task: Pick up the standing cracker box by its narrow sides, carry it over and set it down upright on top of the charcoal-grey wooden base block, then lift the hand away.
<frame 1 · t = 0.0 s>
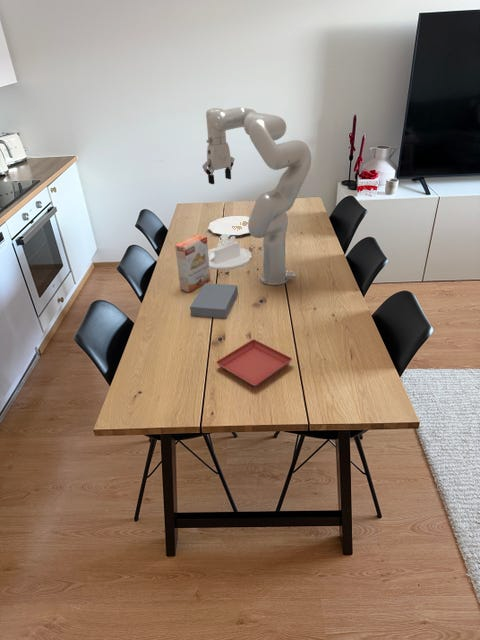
hand: (220, 181, 208), 37 cm above the table, tool pointing down, fingers open, 9 cm apart
dish: (226, 259, 228), on the table
base block: (215, 304, 190), on the table
plant saucer: (254, 368, 154), on the table
plate: (234, 229, 262), on the table
cracker box: (195, 285, 206), on the table
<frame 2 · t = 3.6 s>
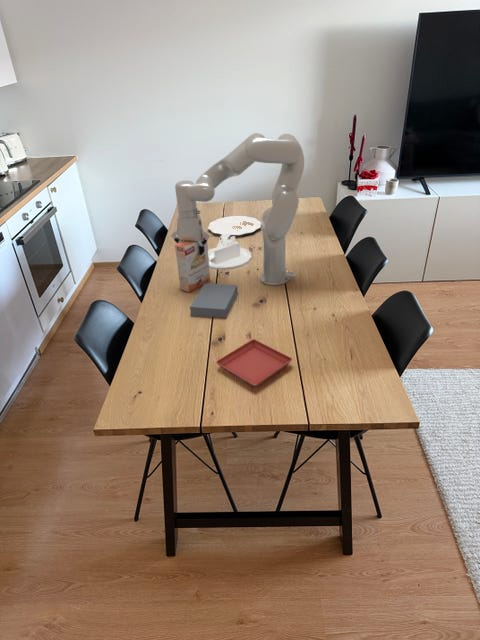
hand: (192, 253, 198), 15 cm above the table, tool pointing down, fingers closed on cracker box, 7 cm apart
cracker box: (195, 285, 206), on the table, touching gripper
everything else where it was.
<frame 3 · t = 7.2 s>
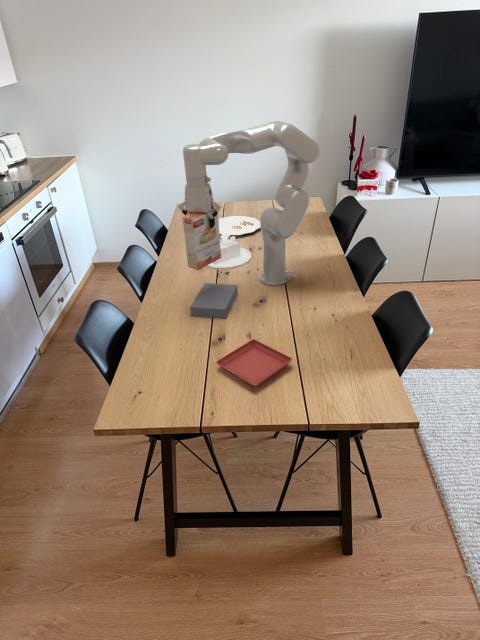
hand: (201, 226, 179), 31 cm above the table, tool pointing down, fingers closed on cracker box, 7 cm apart
cracker box: (205, 263, 188), point 15 cm above the table, touching gripper
everything else where it was.
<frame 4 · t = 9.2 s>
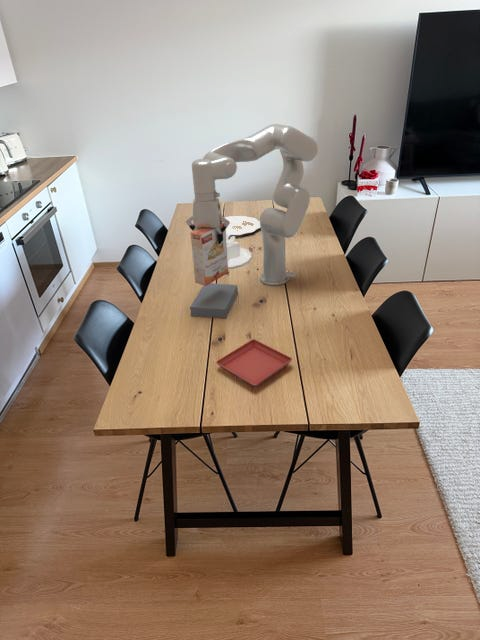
hand: (209, 242, 176), 27 cm above the table, tool pointing down, fingers closed on cracker box, 7 cm apart
cracker box: (212, 278, 184), point 12 cm above the table, touching gripper
everything else where it was.
when the fingers open (20 cm above the table, at t = 10.9 s): cracker box drops 1 cm, resting on base block.
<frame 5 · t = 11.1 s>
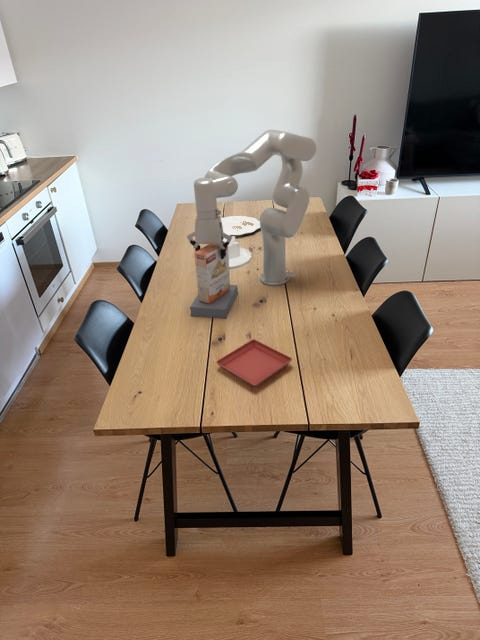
hand: (211, 257, 180), 21 cm above the table, tool pointing down, fingers open, 9 cm apart
cracker box: (215, 295, 189), point 4 cm above the table, touching base block
everything else where it was.
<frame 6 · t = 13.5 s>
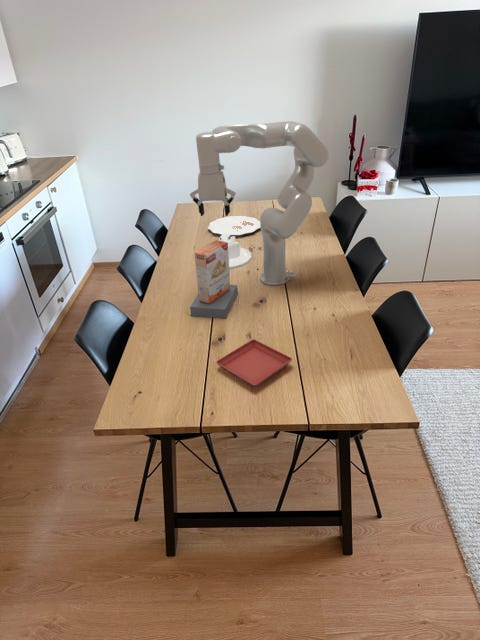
hand: (214, 214, 179), 34 cm above the table, tool pointing down, fingers open, 9 cm apart
nothing on the table moved.
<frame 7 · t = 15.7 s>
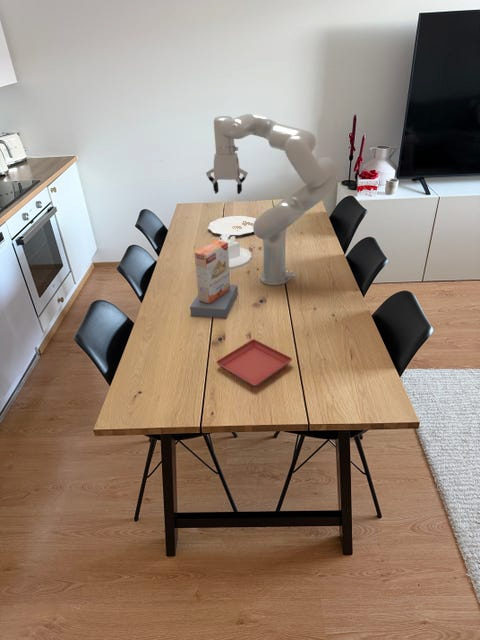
hand: (227, 192, 196), 36 cm above the table, tool pointing down, fingers open, 9 cm apart
nothing on the table moved.
at the end: cracker box inside the target area on the base block (0.3 cm from its centre), point 3.8 cm above the base block's base; cracker box tilted 0°; the gripper is holding nothing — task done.
